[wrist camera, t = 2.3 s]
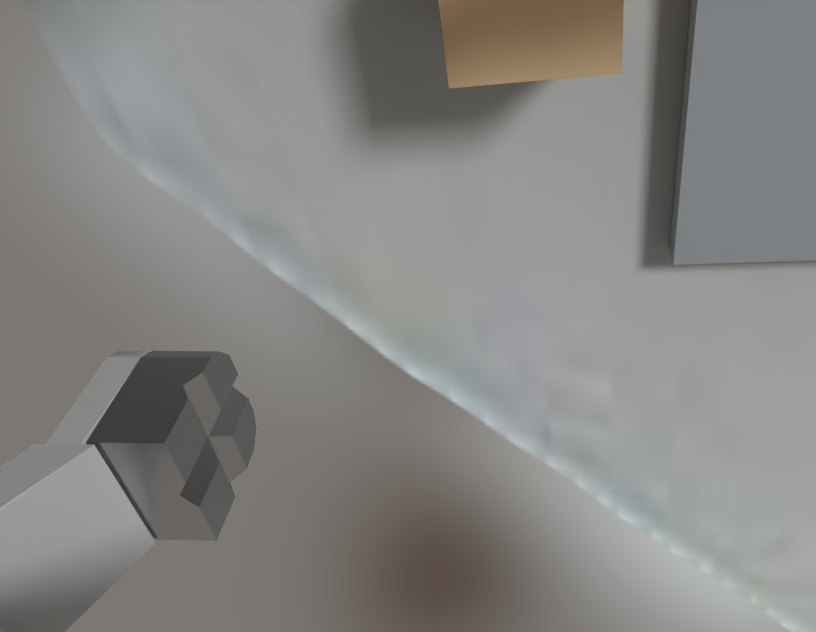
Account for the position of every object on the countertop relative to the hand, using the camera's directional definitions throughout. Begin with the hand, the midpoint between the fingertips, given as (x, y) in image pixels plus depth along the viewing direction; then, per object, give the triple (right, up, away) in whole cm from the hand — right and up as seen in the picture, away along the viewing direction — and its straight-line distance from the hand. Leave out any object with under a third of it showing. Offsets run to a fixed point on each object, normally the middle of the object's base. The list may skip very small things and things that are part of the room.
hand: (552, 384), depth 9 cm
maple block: (+2, +13, +15) cm, 20 cm away
